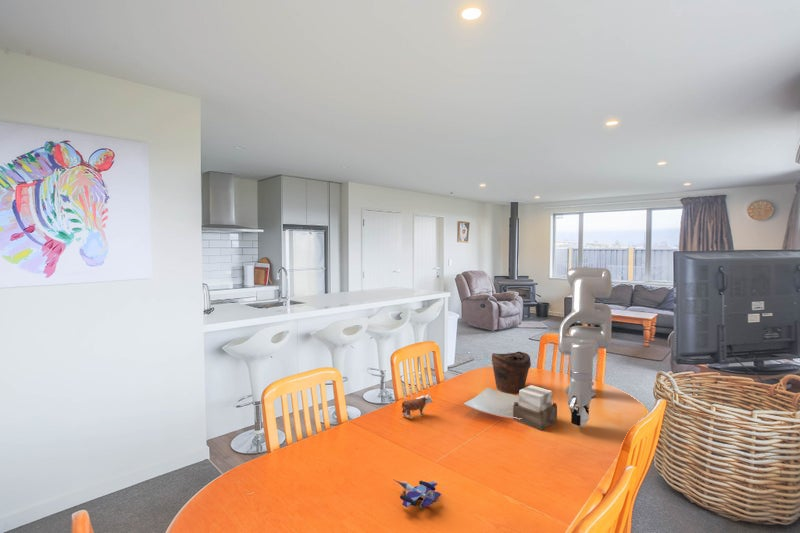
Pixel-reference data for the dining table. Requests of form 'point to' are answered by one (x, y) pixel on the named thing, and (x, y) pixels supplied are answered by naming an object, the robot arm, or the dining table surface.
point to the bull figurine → (415, 405)
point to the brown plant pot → (511, 371)
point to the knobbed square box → (535, 407)
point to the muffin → (583, 416)
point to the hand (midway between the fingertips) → (579, 421)
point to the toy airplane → (419, 493)
